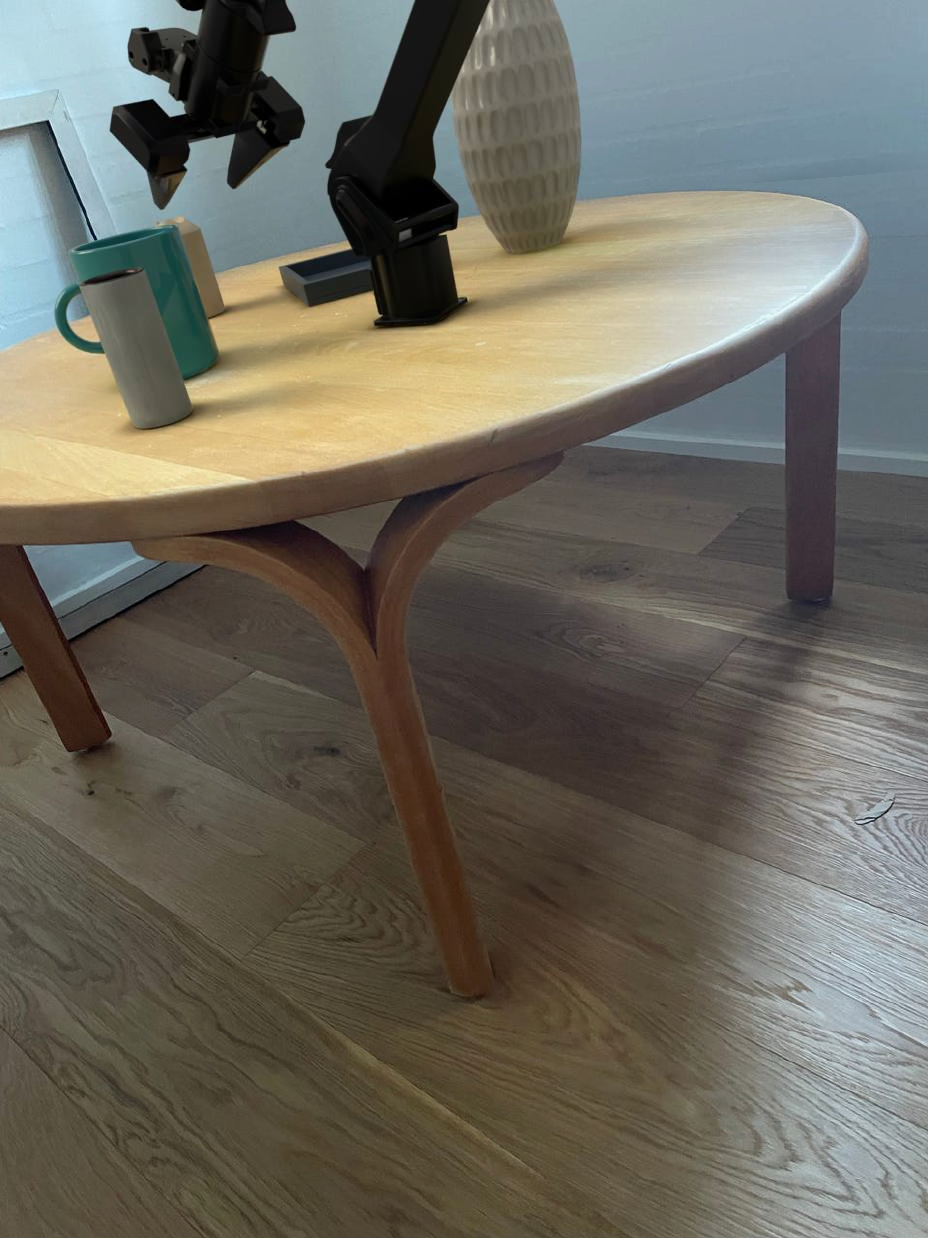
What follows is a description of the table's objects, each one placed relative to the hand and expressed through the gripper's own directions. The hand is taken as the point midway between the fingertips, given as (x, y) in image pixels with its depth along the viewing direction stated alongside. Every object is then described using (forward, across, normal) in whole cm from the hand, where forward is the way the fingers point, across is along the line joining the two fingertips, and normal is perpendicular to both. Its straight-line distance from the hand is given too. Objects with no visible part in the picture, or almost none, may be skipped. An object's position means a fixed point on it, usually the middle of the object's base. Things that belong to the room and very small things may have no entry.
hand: (196, 195), depth 91 cm
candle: (+12, 0, +5) cm, 13 cm away
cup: (+1, +18, +16) cm, 24 cm away
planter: (-8, +25, +24) cm, 36 cm away
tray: (+4, -13, +13) cm, 19 cm away
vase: (-7, -24, +24) cm, 35 cm away
